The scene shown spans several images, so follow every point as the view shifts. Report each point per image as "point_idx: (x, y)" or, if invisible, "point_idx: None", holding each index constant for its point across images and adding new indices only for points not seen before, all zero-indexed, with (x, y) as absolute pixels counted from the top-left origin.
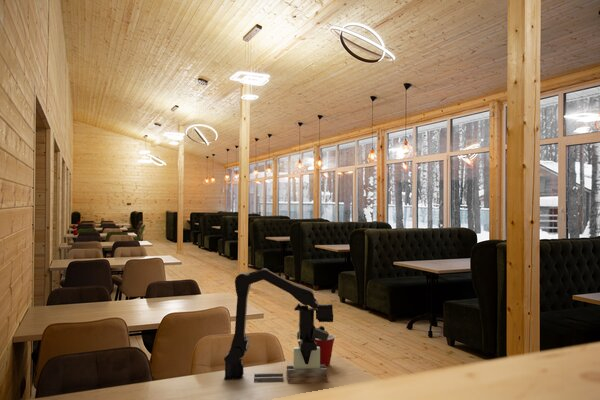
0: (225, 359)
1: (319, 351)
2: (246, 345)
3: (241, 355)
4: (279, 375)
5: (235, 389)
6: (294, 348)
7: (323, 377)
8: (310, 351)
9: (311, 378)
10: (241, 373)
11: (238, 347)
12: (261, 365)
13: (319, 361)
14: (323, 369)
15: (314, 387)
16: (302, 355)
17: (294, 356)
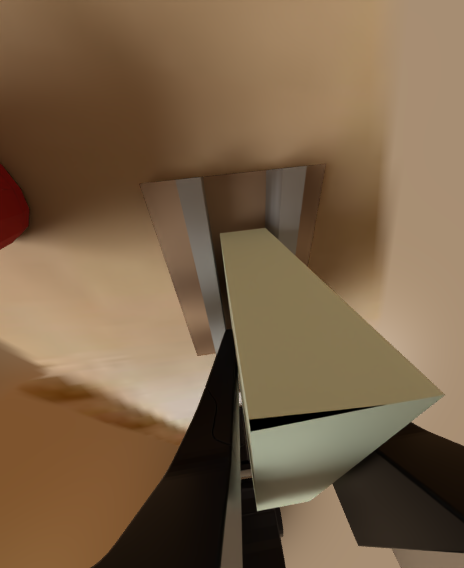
0: None
1: (362, 331)
2: (273, 545)
3: None
4: None
5: None
6: (304, 501)
7: (311, 196)
8: (407, 427)
9: (307, 264)
10: (240, 419)
11: (280, 536)
12: (133, 400)
13: (287, 253)
14: (300, 201)
15: (360, 241)
16: None
17: (285, 419)
